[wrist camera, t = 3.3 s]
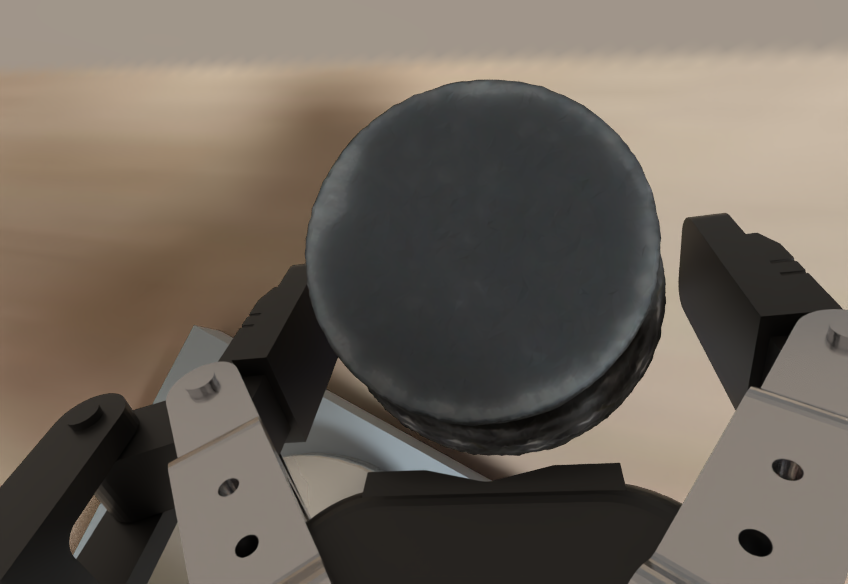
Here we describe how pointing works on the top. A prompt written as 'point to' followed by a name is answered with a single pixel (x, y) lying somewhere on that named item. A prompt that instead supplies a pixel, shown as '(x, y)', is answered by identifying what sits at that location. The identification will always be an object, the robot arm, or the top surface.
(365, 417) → the gear board
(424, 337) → the pill bottle
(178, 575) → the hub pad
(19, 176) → the top surface
